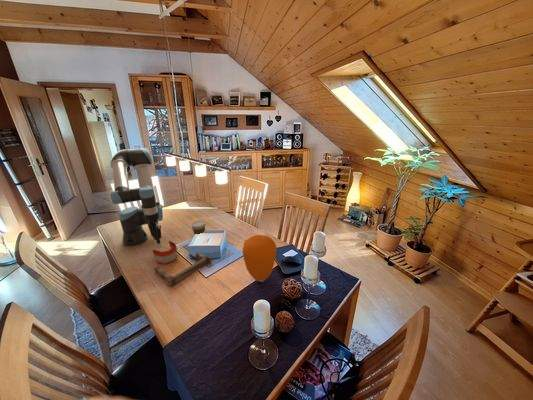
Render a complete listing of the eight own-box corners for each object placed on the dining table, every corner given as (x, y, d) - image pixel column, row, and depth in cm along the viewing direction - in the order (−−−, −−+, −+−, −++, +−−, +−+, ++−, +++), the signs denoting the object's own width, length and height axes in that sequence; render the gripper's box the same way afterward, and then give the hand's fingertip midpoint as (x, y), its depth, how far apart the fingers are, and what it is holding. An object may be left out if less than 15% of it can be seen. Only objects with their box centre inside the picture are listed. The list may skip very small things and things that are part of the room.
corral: (153, 274, 124) (152, 268, 123) (193, 252, 144) (192, 247, 142) (170, 287, 115) (169, 281, 113) (210, 262, 134) (210, 256, 132)
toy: (165, 267, 130) (162, 256, 127) (154, 261, 135) (151, 250, 132) (183, 256, 140) (181, 245, 137) (172, 251, 145) (170, 240, 142)
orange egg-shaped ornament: (246, 268, 128) (244, 230, 119) (276, 269, 127) (276, 230, 118) (242, 291, 112) (239, 248, 103) (276, 291, 111) (276, 248, 102)
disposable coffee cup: (203, 243, 154) (201, 227, 149) (190, 241, 155) (188, 226, 151) (209, 236, 162) (207, 221, 158) (197, 234, 164) (195, 220, 160)
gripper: (139, 212, 134) (147, 246, 143) (150, 217, 127) (158, 253, 135) (151, 208, 140) (159, 241, 148) (163, 213, 132) (169, 247, 141)
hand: (158, 247), depth 142 cm, fingers closed
